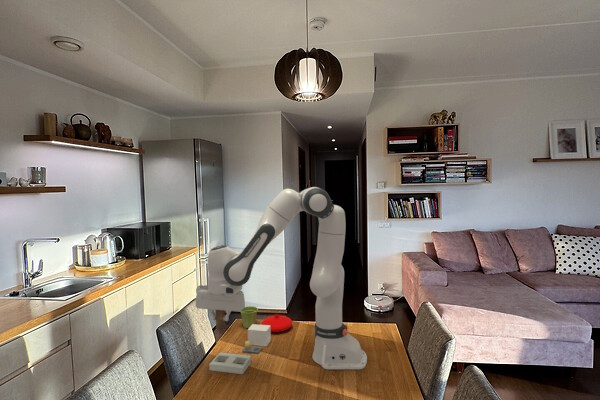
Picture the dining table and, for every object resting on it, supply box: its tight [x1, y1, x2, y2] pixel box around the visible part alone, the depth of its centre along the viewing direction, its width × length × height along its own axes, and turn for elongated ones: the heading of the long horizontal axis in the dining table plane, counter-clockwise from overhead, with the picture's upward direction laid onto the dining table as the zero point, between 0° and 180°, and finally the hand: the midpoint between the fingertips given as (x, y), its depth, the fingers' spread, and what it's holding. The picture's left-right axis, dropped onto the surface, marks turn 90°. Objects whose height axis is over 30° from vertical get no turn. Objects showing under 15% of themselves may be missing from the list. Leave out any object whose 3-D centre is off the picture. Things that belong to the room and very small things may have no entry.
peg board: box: [208, 352, 252, 375], centre depth 129 cm, size 14×9×2 cm, turn 77°
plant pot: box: [240, 306, 259, 329], centre depth 167 cm, size 9×9×9 cm
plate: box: [241, 340, 263, 355], centre depth 141 cm, size 7×4×4 cm, turn 77°
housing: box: [247, 323, 272, 347], centre depth 149 cm, size 9×6×7 cm, turn 77°
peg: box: [215, 310, 226, 331], centre depth 130 cm, size 4×4×8 cm
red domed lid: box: [260, 313, 293, 333], centre depth 163 cm, size 16×16×7 cm
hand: (220, 320), depth 130 cm, fingers closed on peg, 4 cm apart
